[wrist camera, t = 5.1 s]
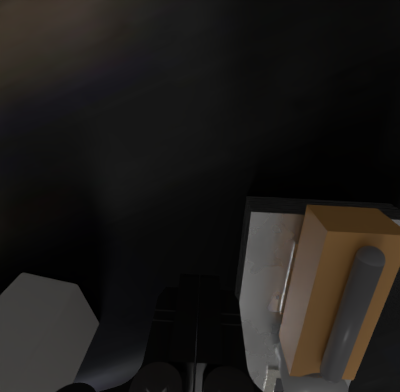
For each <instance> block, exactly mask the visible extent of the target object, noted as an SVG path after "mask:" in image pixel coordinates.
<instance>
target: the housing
mask: <svg viewBox="0 0 400 392" xmlns="http://www.w3.org/2000/svg"><path fill="white" fill-rule="evenodd" d="M307 205H323V206H342V207H361V208H377V209H378V210H380V211H381V212H382V213H383V214H385V215H386V216H387V217H388V218H390V219H391V220H392V221H394V222H395V223H396V224H397V225H399V226H400V210H399V209H398V208H396V207H395V206H393V205H392V204H389V203H371V202H352V201H333V200H314V199H296V198H277V197H258V196H246V204H245V212H244V220H243V229H242V237H241V245H240V254H239V262H238V270H237V278H236V287H235V296H236V297H237V299H238V301H239V305H240V313H241V321H242V329H243V337H244V345H245V353H246V360H247V367H248V371H249V374H250V376H251V378H252V380H253V381H254V383H255V384H256V385H257V386H258V387H259V388H260V389H261V390H262V391H263V392H284V389H283V385H282V380H281V376H280V372H279V368H278V363H277V359H276V355H275V349H276V346H277V345H278V343H279V342H280V338H279V331H280V326H281V322H282V317H283V313H284V308H285V303H286V299H287V294H288V290H289V285H290V281H291V276H292V271H293V267H294V262H295V258H296V253H297V249H298V244H299V239H300V235H301V230H302V226H303V221H304V217H305V212H306V207H307ZM345 381H346V383H347V386H348V387H349V384H350V382H351V380H345Z"/></svg>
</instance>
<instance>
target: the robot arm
mask: <svg viewBox="0 0 400 392" xmlns="http://www.w3.org/2000/svg"><path fill="white" fill-rule="evenodd" d="M198 286H199V275H189V274H181V275H180V282H179V288H174V287H166V288H165V289H164V290H163V292H162V293H161V294H160V295H159V297H158V300H157V305H156V310H155V313H154V317H153V322H152V326H151V330H150V335H149V339H148V343H147V347H146V352H145V356H144V360H143V363H142V366H141V368H140V369H139V371H138V372H137V373H136V375H135V376H134V377H133V378H132V379H130V380H129V381H128V382H126V383H124V384H122V385H120V386H117V387H114V388H111V389H107V390H104V391H100V392H193V377H194V359H195V341H196V323H197V305H198ZM56 392H96V391H95V389H94V388H93V387H91V386H90V385H88V384H85V383H73V384H69V385H66V386H64V387H62V388H60V389H59V390H58V391H56ZM195 392H263V391H262V390H261V389H260V388H259V387H258V386H257V385H256V384H255V383H254V381H253V380H252V378H251V376H250V374H249V371H248V367H247V360H246V353H245V345H244V337H243V329H242V321H241V313H240V305H239V301H238V299H237V297H236V296H235V294H234V293H233V291H227V290H220V284H219V276H208V275H201V279H200V297H199V315H198V335H197V356H196V376H195Z"/></svg>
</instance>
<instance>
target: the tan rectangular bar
mask: <svg viewBox="0 0 400 392" xmlns="http://www.w3.org/2000/svg"><path fill="white" fill-rule="evenodd" d="M399 267H400V226H399V225H397V224H396V223H395V222H394V221H392V220H391V219H390V218H388V217H387V216H386V215H385V214H383V213H382V212H381V211H380V210H378V209H377V208H361V207H342V206H323V205H307V207H306V212H305V217H304V221H303V226H302V230H301V235H300V239H299V244H298V249H297V253H296V258H295V262H294V267H293V271H292V276H291V281H290V285H289V290H288V294H287V299H286V303H285V308H284V313H283V317H282V322H281V326H280V331H279V338H280V342H279V343H278V345H277V346H276V349H275V355H276V359H277V363H278V368H279V372H280V376H281V380H282V385H283V389H284V392H348V386H347V383H346V381H345V380H354V378H355V375H356V373H357V370H358V368H359V365H360V363H361V360H362V358H363V355H364V353H365V350H366V348H367V346H368V343H369V341H370V338H371V336H372V333H373V331H374V328H375V326H376V323H377V321H378V318H379V316H380V313H381V311H382V308H383V306H384V304H385V301H386V299H387V296H388V294H389V291H390V289H391V286H392V284H393V281H394V279H395V276H396V274H397V271H398V269H399Z"/></svg>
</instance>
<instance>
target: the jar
mask: <svg viewBox="0 0 400 392" xmlns="http://www.w3.org/2000/svg"><path fill="white" fill-rule="evenodd" d="M98 325H99V322H98V320H97V318H96V316H95V315H94V313H93V311H92V309H91V307H90V306H89V304H88V302H87V300H86V299H85V297H84V295H83V293H82V291H81V290H80V288H79V286H78V285H77V284H74V283H70V282H65V281H60V280H56V279H51V278H47V277H42V276H38V275H33V274H29V273H21V274H20V275H19V276H18V277H17V278H16V279H15V280H14V281H13V282H12V283H11V284H10V285H9V286H8V287H7V288H6V289H5V290H4V291H3V292H2V294H1V295H0V392H56V391H58V390H59V389H60V388H62V387H64V386H66V385H69V384H72V383H73V381H74V379H75V377H76V374H77V372H78V370H79V368H80V365H81V363H82V361H83V359H84V356H85V354H86V352H87V350H88V348H89V345H90V343H91V341H92V339H93V336H94V334H95V332H96V330H97V328H98Z"/></svg>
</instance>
